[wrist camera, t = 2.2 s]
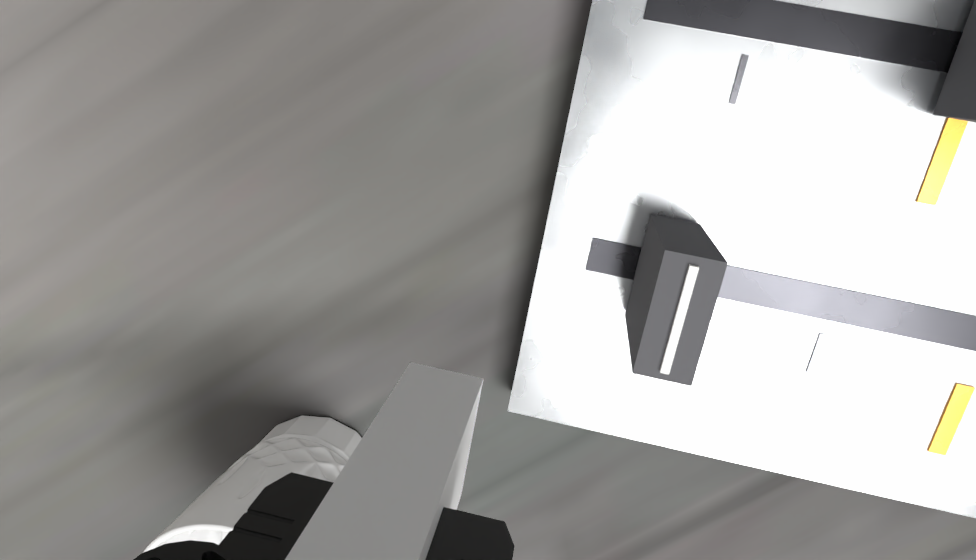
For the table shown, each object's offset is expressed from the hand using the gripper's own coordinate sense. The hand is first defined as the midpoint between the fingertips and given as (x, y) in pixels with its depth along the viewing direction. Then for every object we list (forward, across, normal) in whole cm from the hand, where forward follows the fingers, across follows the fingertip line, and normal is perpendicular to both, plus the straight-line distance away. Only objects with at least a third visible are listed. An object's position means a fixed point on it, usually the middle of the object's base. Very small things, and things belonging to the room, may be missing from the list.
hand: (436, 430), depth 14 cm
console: (+18, +13, +3) cm, 22 cm away
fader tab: (+16, +6, 0) cm, 17 cm away
